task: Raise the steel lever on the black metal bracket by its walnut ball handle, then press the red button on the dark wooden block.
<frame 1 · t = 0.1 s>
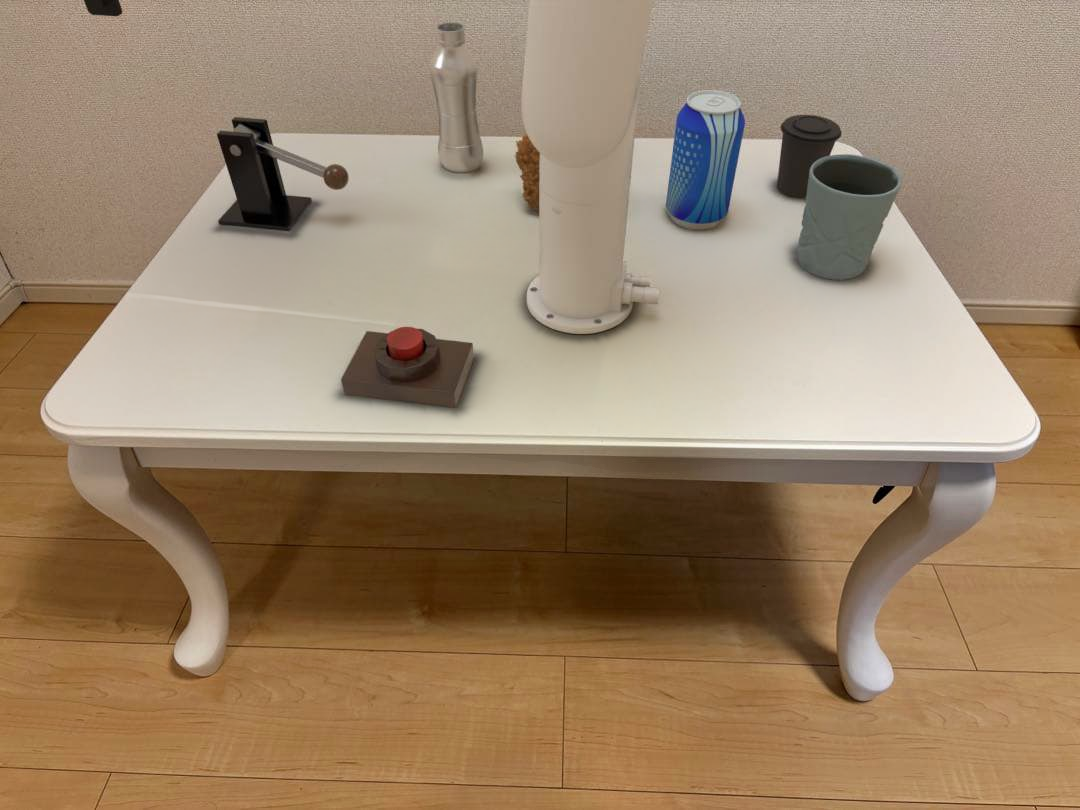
button: (405, 344, 79), point 4 cm above the table, slide at 0.1 cm
green embossed tumbler: (828, 262, 97), on the table
silver metal bottle: (462, 169, 115), on the table
bracket: (267, 216, 105), on the table
lever: (292, 159, 98), point 9 cm above the table, hinge at -20.0°
beer can: (695, 217, 105), on the table
button block: (410, 375, 82), on the table
fried chicken: (565, 206, 107), on the table
coffee cup: (795, 190, 110), on the table
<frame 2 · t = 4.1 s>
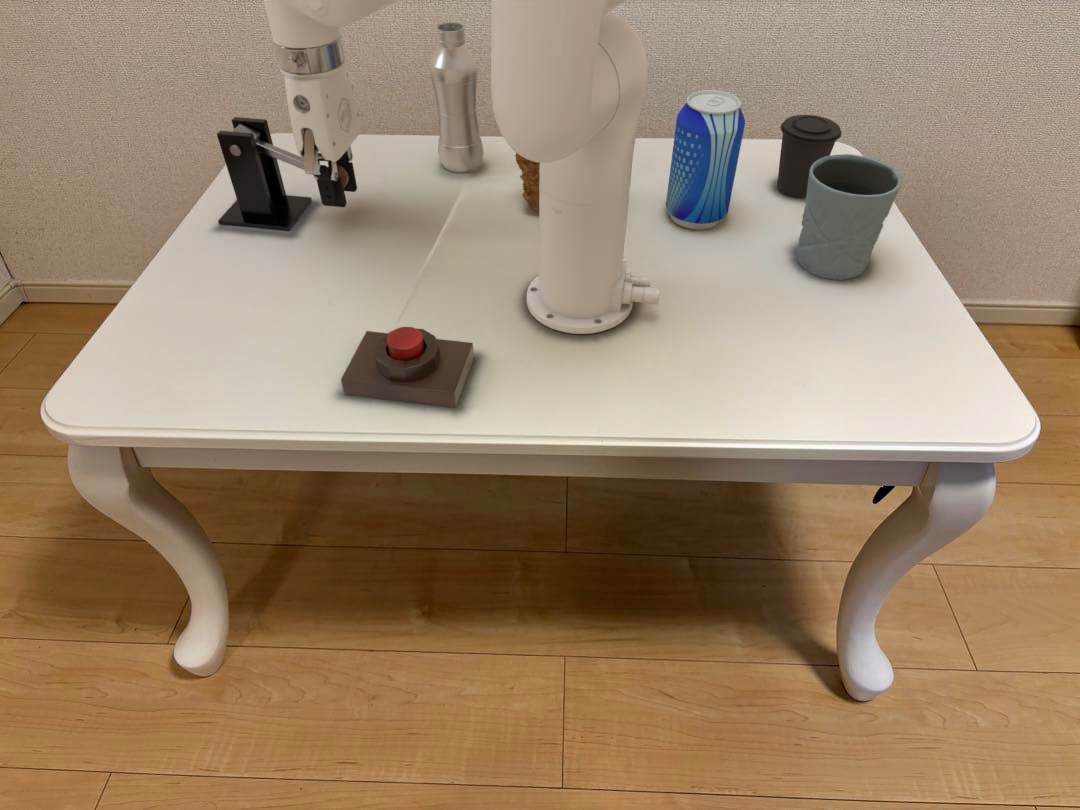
hand: (340, 196, 101), 4 cm above the table, tool pointing down, fingers closed on lever, 3 cm apart
lever: (292, 159, 98), point 9 cm above the table, hinge at -20.0°, touching gripper
everything else where it was.
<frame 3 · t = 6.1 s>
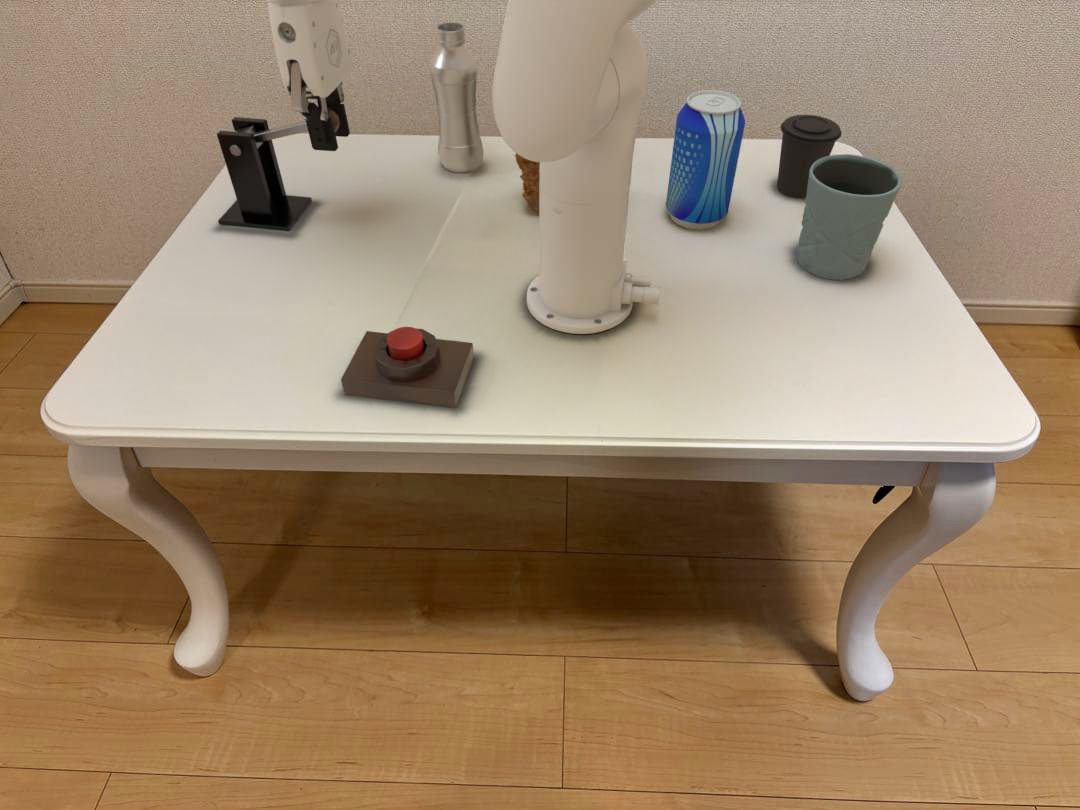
hand: (331, 140, 95), 12 cm above the table, tool pointing down, fingers closed on lever, 3 cm apart
lever: (285, 130, 95), point 13 cm above the table, hinge at 16.2°, touching gripper
everything else where it was.
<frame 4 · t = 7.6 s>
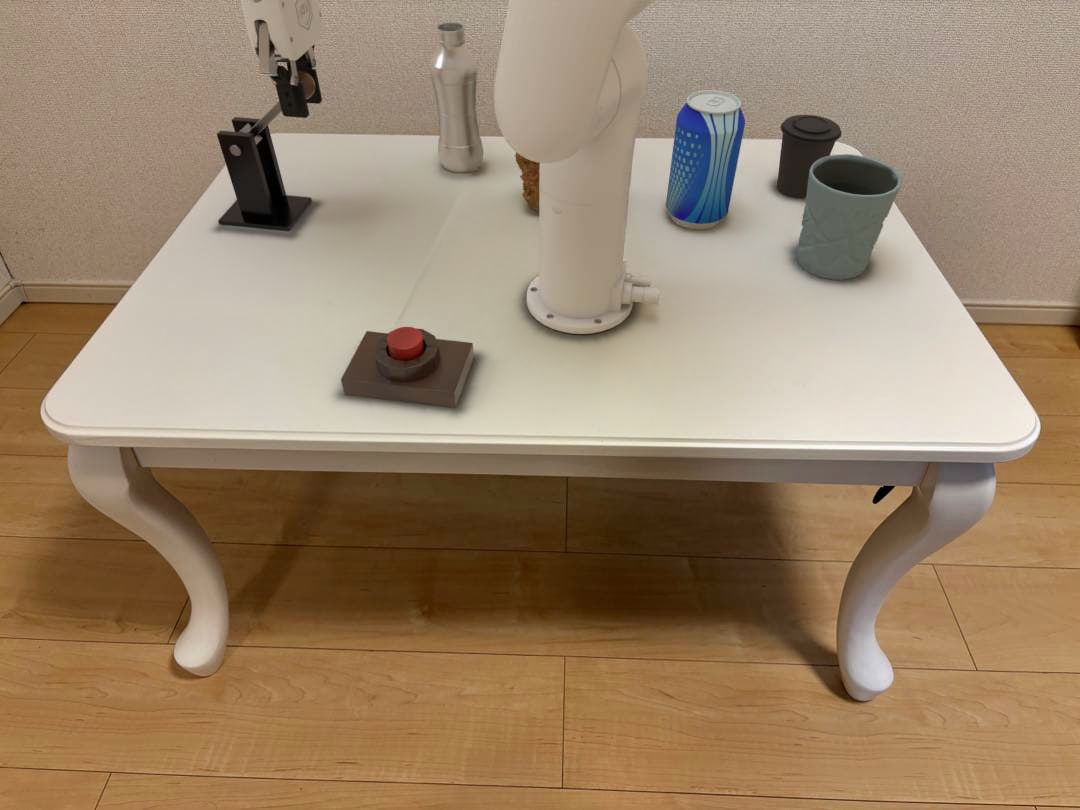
hand: (302, 107, 93), 16 cm above the table, tool pointing down, fingers closed on lever, 3 cm apart
lever: (273, 113, 94), point 15 cm above the table, hinge at 39.2°, touching gripper
everything else where it was.
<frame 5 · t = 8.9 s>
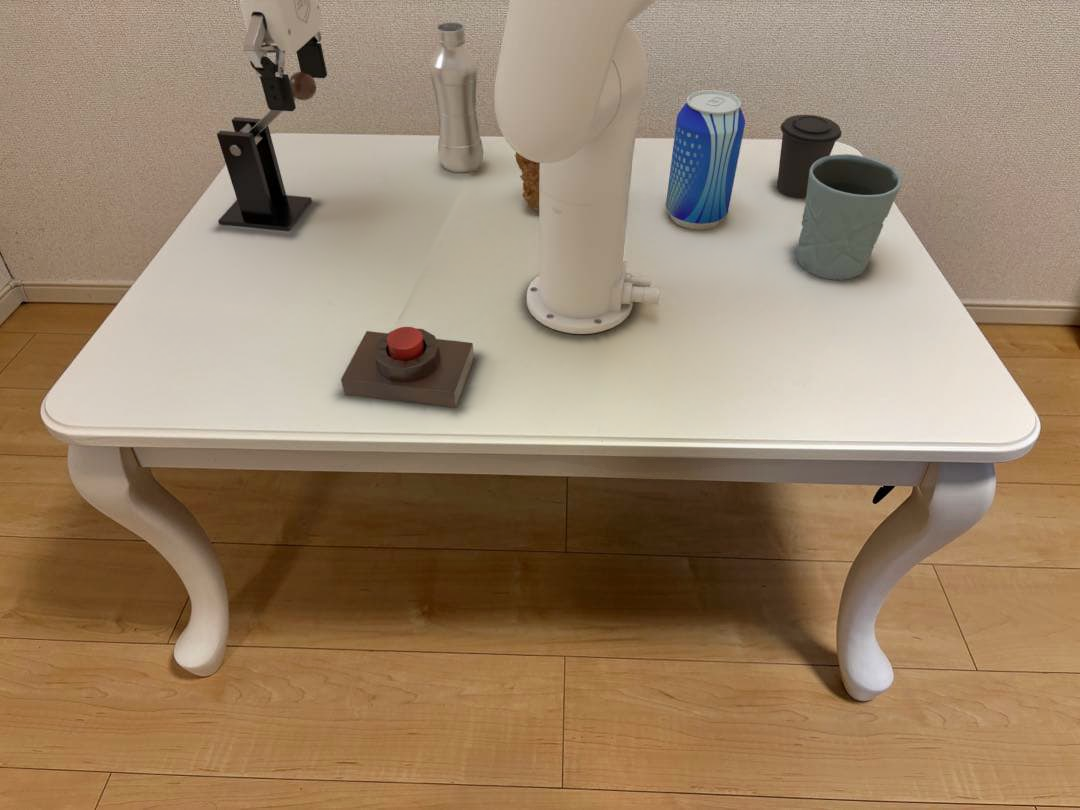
hand: (299, 92, 91), 18 cm above the table, tool pointing down, fingers open, 9 cm apart
lever: (273, 113, 94), point 15 cm above the table, hinge at 38.6°
everything else where it was.
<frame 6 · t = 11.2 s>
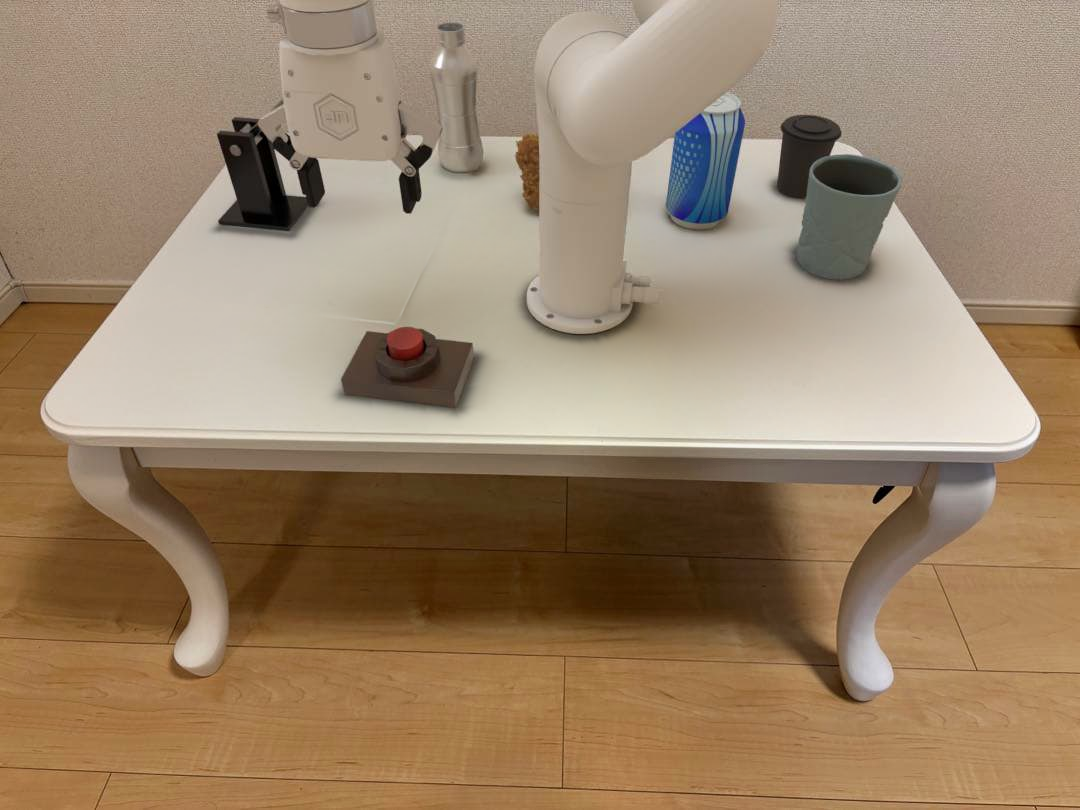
hand: (363, 203, 76), 16 cm above the table, tool pointing down, fingers open, 9 cm apart
nothing on the table moved.
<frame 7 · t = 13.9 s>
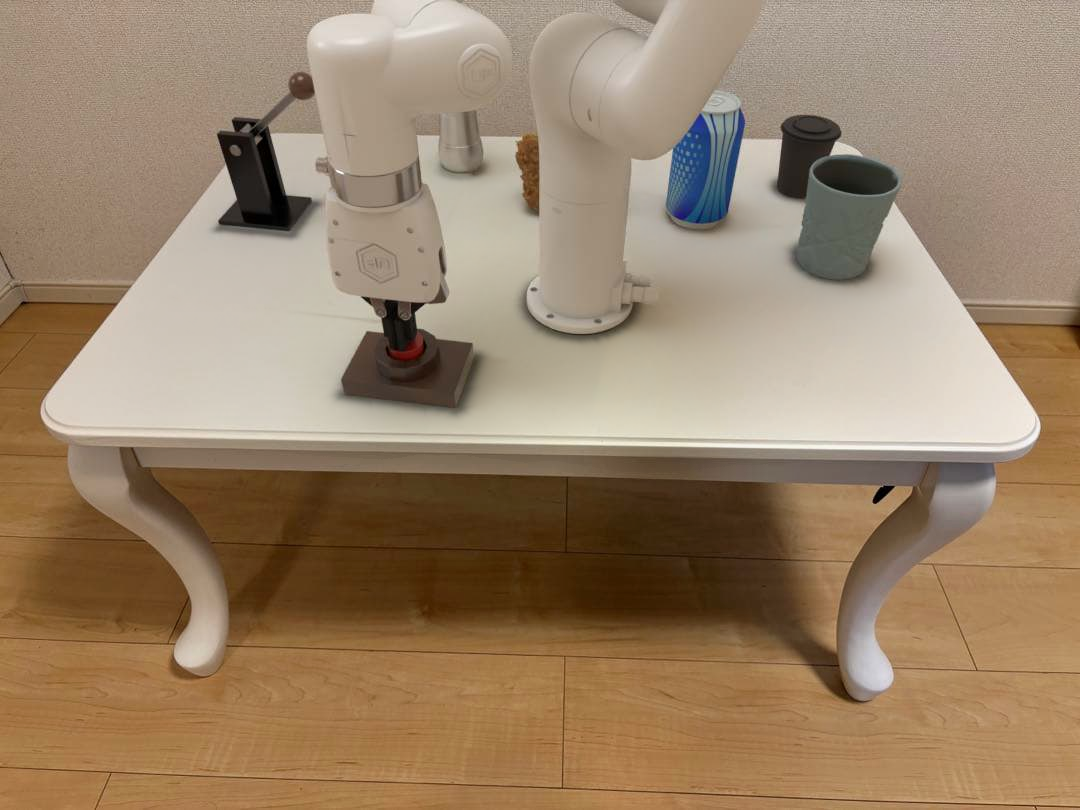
hand: (402, 341, 78), 5 cm above the table, tool pointing down, fingers closed
button: (406, 347, 79), point 4 cm above the table, slide at -0.4 cm, touching gripper
everything else where it was.
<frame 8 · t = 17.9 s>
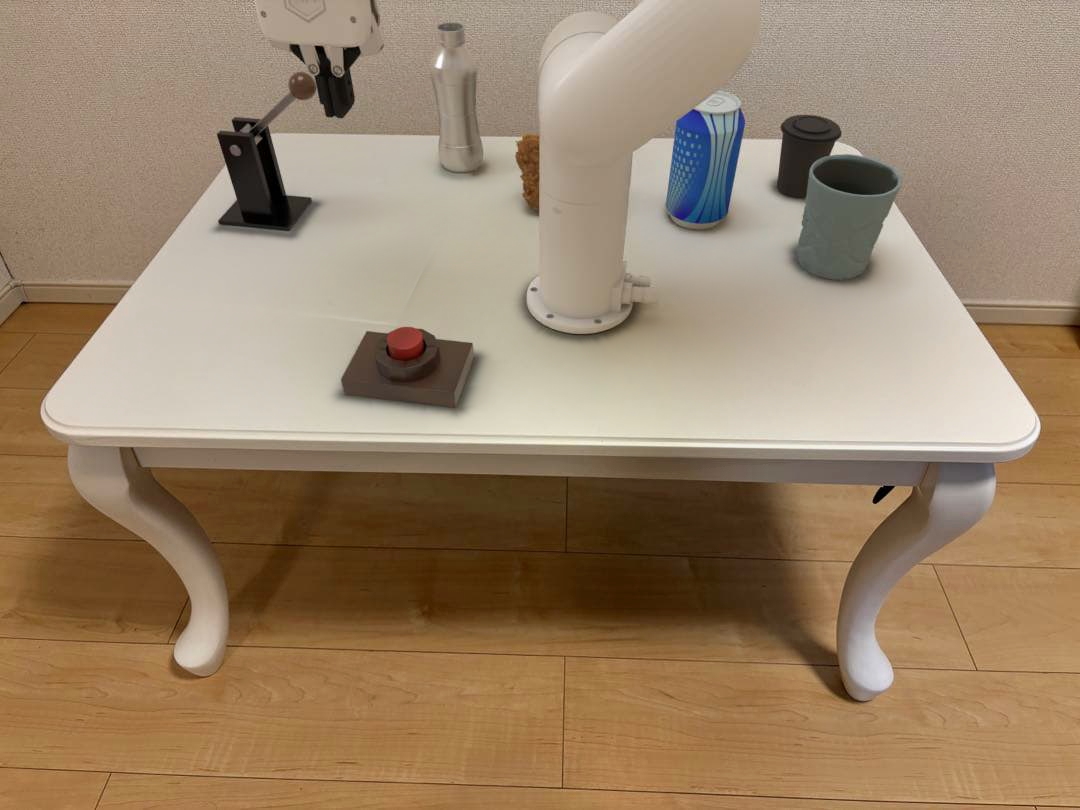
hand: (339, 111, 75), 23 cm above the table, tool pointing down, fingers closed
button: (405, 344, 79), point 4 cm above the table, slide at 0.1 cm
everything else where it was.
at the end: lever at +39° (first picture: -20°); button pushed in 1.1 cm at the most during the clip, back to where it started at the end; button slide at 0.1 cm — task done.
